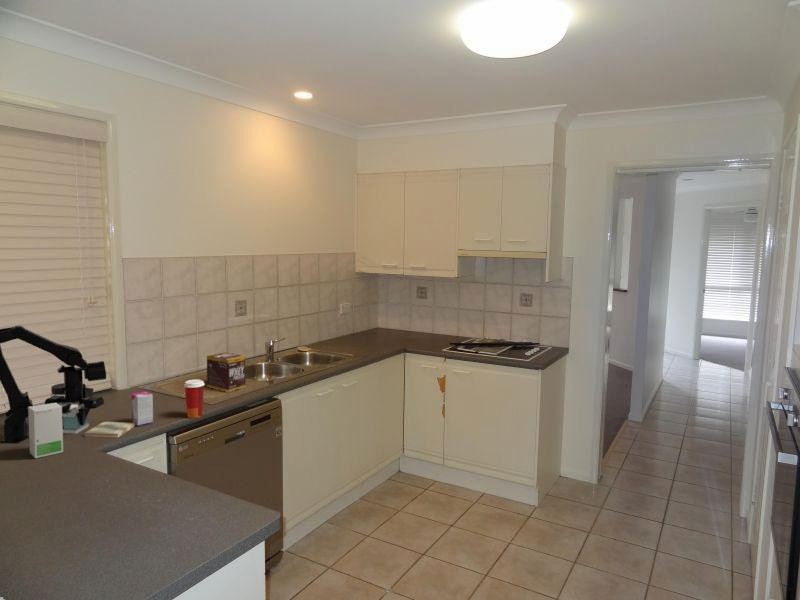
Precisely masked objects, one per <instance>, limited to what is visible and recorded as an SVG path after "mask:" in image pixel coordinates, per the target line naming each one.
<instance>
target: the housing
mask: <svg viewBox="0 0 800 600" xmlns="http://www.w3.org/2000/svg"><path fill="white" fill-rule="evenodd" d="M80 408H81V407H79V406H78V407H74V408H72V409H70V410H68V411H66V412H64V413H62V417H63V418H62V421H63V428H62V430H63V434H70V435H71V434H73V435H77V434H78V433H80V432H82V431H83V430H85V429H87V428H89V426H90V423H88V417H87V418H86V421H85V424H84V425H83V426H82V425H81V423H80V417H79V411H78V409H80Z"/></svg>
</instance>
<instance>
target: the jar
mask: <svg viewBox="0 0 800 600" xmlns="http://www.w3.org/2000/svg"><path fill="white" fill-rule="evenodd" d="M63 387H64V382H62V383H57V384H53V385H51V390H50V397H52V396H64V397H65V391H64V390H62V388H63ZM74 407H79V405H75V404H71V406H70V409H72V408H74ZM70 409H69V410H70Z"/></svg>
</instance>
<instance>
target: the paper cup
mask: <svg viewBox="0 0 800 600" xmlns="http://www.w3.org/2000/svg"><path fill="white" fill-rule="evenodd" d="M205 385H206V384H205V382H204V380H202V379H189V380H185V382H184V384H183V387H184V392H185V395H184V396H185V405H186V415H187V418H188V419H199V418H202V417H203V414H204V409H203V408H204V392H205V391H204V388H205V387H204V386H205Z"/></svg>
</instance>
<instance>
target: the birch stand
mask: <svg viewBox="0 0 800 600" xmlns="http://www.w3.org/2000/svg"><path fill="white" fill-rule="evenodd" d="M135 427H136V423H132V422H124V421H121V422H119V421H103V422H100V423H99V424H97V425H96V426H94V427H92V428H91V429H89V430H87V431H85V432H84V434H83V437H92V438H93V437H94V438H95V437H96V438H101V437H102V438H119V437H121V436H122V435H124V434H125V433H127V432H129V431H130V430H131V428H132V429H133V428H135Z"/></svg>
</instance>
